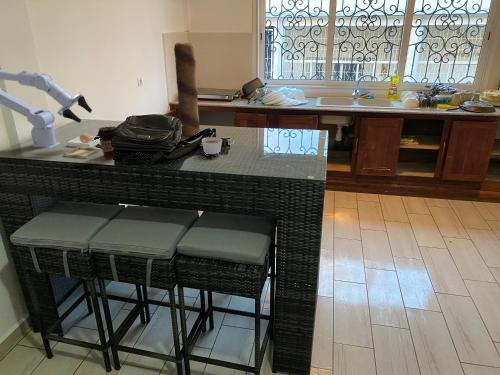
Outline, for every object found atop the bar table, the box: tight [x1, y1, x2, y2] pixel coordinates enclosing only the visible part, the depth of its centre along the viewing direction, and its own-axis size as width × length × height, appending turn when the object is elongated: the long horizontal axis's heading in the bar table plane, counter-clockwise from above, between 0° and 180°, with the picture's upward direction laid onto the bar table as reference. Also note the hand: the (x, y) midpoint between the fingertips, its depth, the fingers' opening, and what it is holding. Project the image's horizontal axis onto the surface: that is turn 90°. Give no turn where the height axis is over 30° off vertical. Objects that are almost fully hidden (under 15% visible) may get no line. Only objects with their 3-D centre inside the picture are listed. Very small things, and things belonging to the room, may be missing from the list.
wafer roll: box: [173, 42, 201, 137], centre depth 196 cm, size 10×11×45 cm
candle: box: [201, 136, 223, 155], centre depth 176 cm, size 9×9×6 cm
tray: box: [63, 146, 102, 159], centre depth 173 cm, size 11×11×2 cm
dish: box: [67, 135, 100, 148], centre depth 186 cm, size 11×11×2 cm
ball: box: [79, 132, 92, 143], centre depth 185 cm, size 5×5×5 cm
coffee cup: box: [97, 126, 120, 160], centre depth 168 cm, size 9×8×13 cm
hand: (85, 116), depth 177 cm, fingers open, 7 cm apart
